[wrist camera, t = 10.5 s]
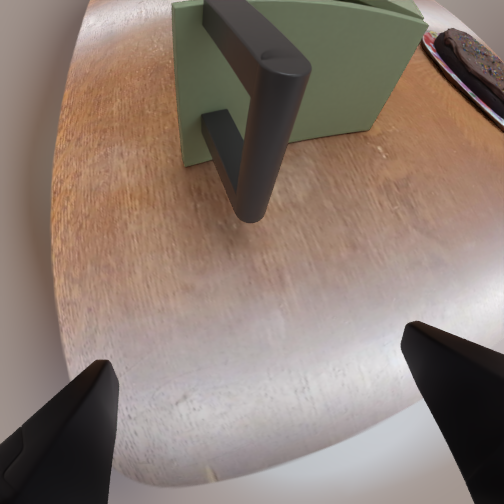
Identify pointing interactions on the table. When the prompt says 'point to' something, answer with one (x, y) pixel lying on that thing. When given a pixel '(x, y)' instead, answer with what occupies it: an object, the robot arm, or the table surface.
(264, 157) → the cupboard door
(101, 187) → the table surface
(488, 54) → the chocolate cake
